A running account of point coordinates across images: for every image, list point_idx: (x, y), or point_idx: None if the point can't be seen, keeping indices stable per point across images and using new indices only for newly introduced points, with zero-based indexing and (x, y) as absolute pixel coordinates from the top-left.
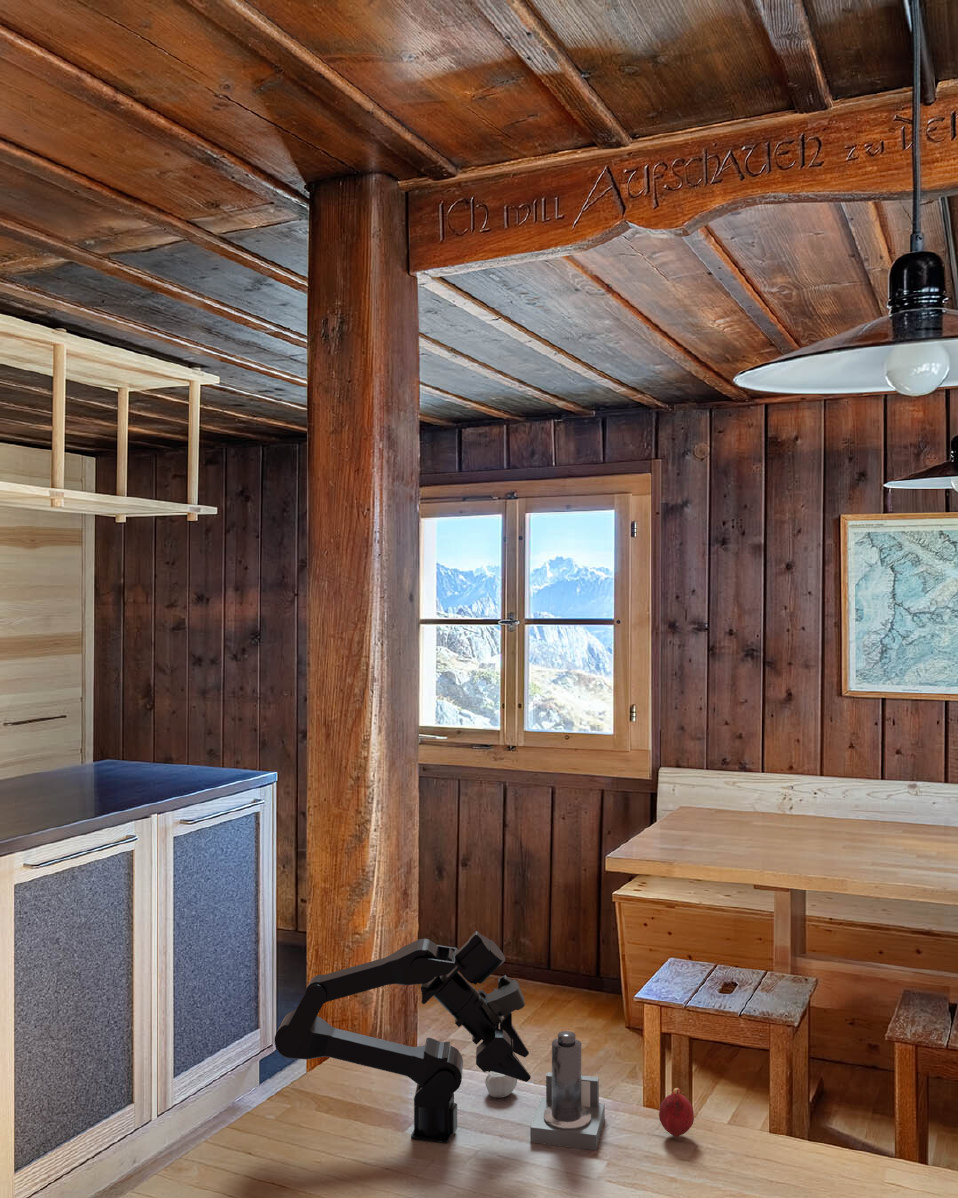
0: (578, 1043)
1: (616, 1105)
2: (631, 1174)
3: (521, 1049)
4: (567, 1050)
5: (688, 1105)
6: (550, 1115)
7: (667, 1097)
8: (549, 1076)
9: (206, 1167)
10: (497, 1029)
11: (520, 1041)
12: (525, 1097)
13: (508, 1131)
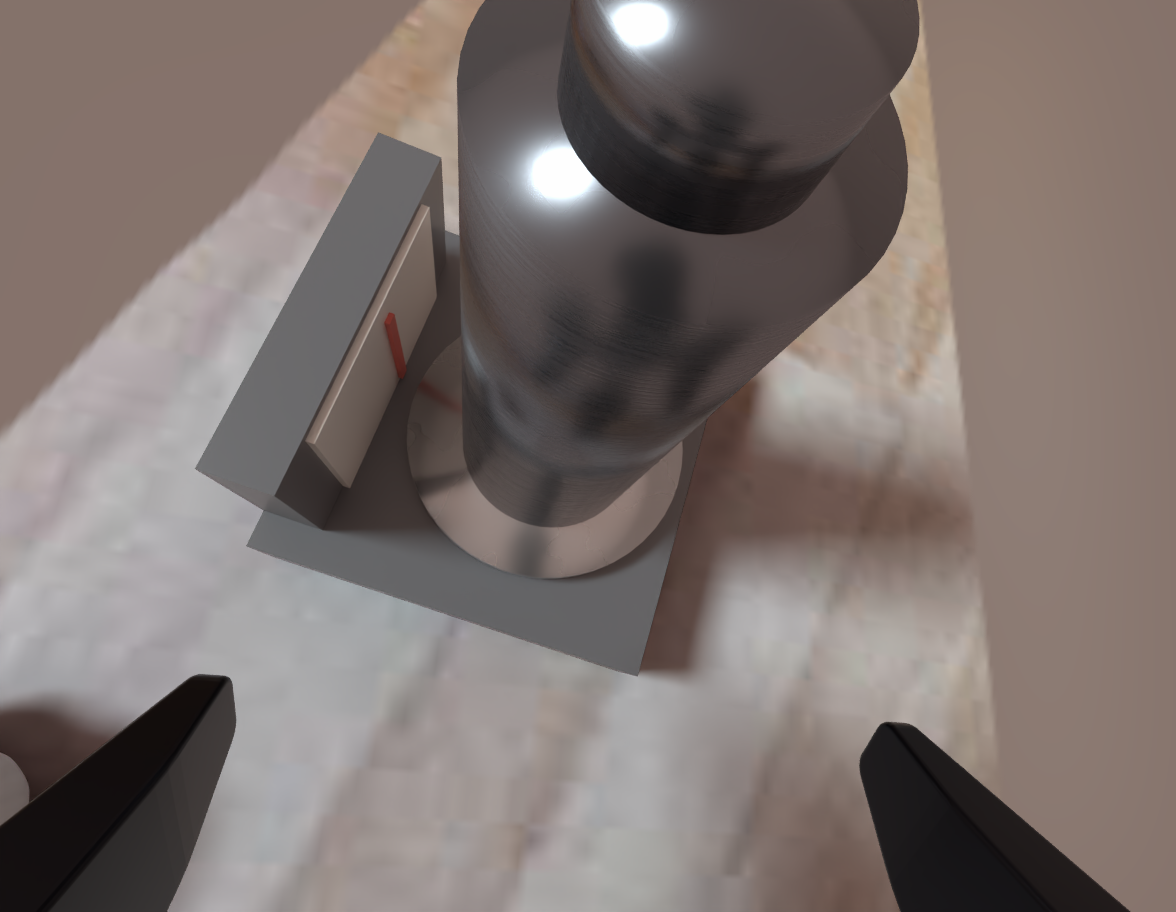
0: None
1: (291, 174)
2: (866, 288)
3: (172, 810)
4: (906, 164)
5: None
6: (554, 536)
7: None
8: (289, 469)
9: None
10: None
11: (82, 875)
12: (52, 640)
13: (483, 791)
